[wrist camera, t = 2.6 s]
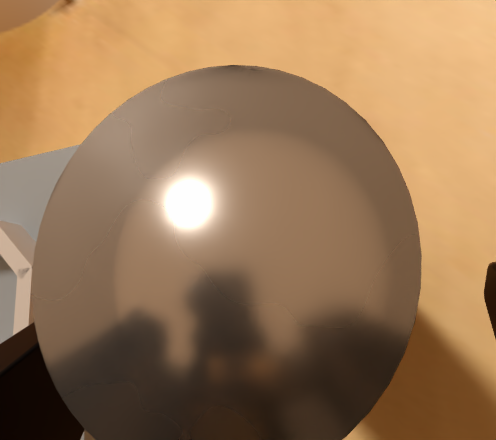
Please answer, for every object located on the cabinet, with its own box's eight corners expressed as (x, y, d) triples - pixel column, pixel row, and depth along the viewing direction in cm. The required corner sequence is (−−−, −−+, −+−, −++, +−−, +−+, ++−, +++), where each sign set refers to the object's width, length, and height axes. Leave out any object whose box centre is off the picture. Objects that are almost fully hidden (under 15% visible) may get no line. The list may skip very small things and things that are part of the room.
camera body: (127, 476, 17) (52, 533, 13) (-57, 466, 21) (-164, 508, 16) (128, 162, 21) (69, 128, 17) (-28, 195, 24) (-109, 173, 20)
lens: (386, 342, 15) (471, 504, 3) (270, 347, 17) (19, 475, 5) (368, 226, 16) (378, 18, 4) (261, 239, 18) (42, 111, 6)
